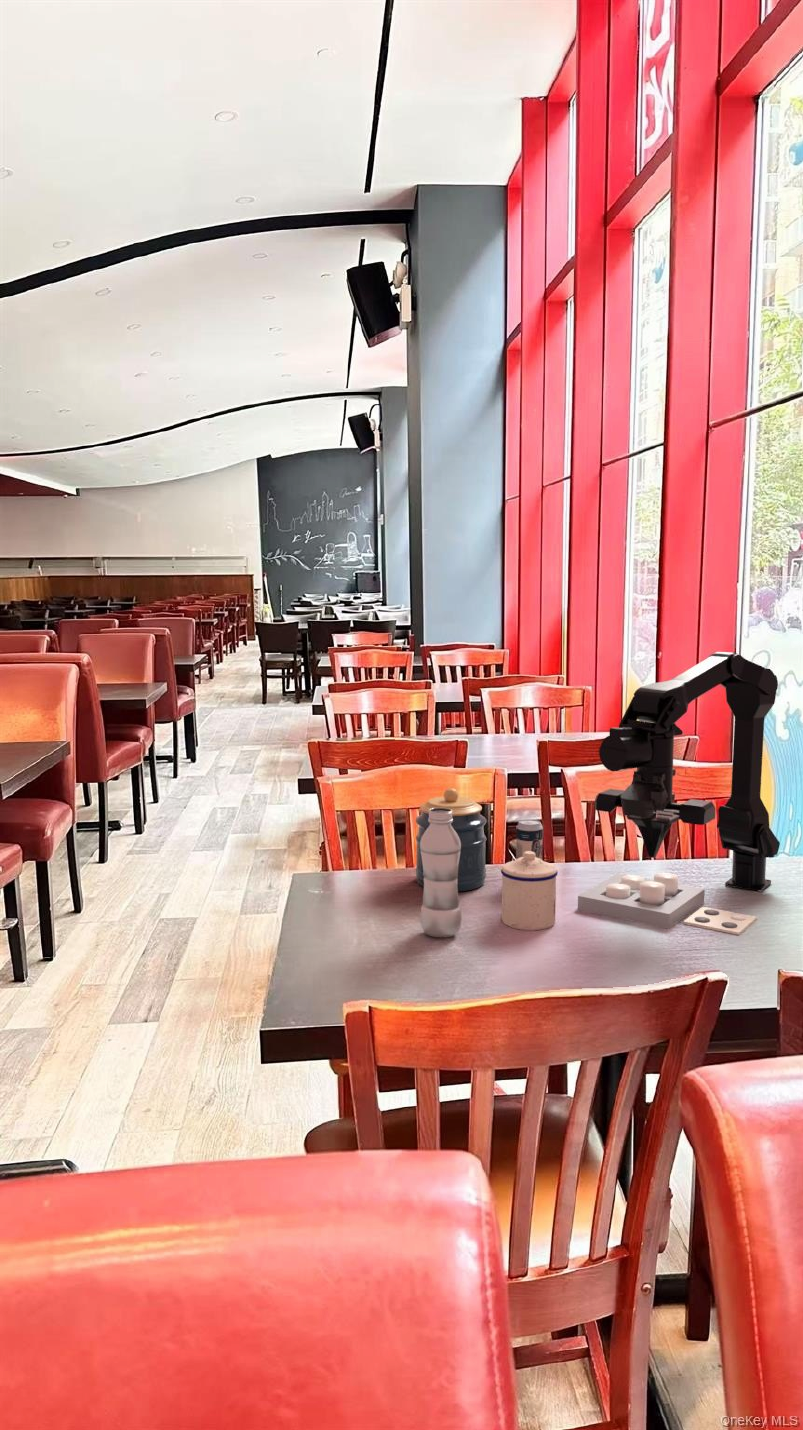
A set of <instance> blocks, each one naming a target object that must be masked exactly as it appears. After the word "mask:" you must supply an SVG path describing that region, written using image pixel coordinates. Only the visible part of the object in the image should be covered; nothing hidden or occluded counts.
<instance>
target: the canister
mask: <svg viewBox="0 0 803 1430" xmlns="http://www.w3.org/2000/svg"><path fill="white" fill-rule="evenodd" d="M432 808H449V809H451V810H452V818H453V822H452V823H451V826H452V827H453V829H454V830H455V831H456V833H457V835H458V836H459V839H460V842H461V850H460V858H459V865H458V877H457V879H458V882H457V887H458V892H466V891H471V890H476V889H479V888H481V887H482V886H483V885H484V884H485V883H486V877H487V868H486V841H487V837H486V835H485V832H484V826H485V825H486V823H487V819H486V817H485V816H483V815H482V814H481V812H482V809H483V807H482V805H481V804H479V803H478V802H475V800H474V799H472V798H470V797H466V796H459V793H458V791H457V790H456V789H455V788H451V787H450V788H447V789H445V791H444V794H443V796H437V797H435V796H434V797H432V798H429V799H428V800H427V801H426V802H424V803H423V804H421V805H420V807H419V809H420V811H422V812H421V814H419V815H418V816H417V817H416V818H415V823H416V825H417V826H418V832H417V835H416V836H415V840H416V868H415V877H416V880H417V884H418V885H419V886H421V887H422V888H424V875H423V863H422V856H421V849H420V841H421V837H422V836H423V834H424V833H425V831H426V830H427V828H428V827H429V826H430V823H429V822H428V818H429V810H430V809H432Z"/></svg>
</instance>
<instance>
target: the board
mask: <svg viewBox="0 0 803 1430" xmlns="http://www.w3.org/2000/svg"><path fill="white" fill-rule="evenodd" d="M626 875H627V874H624V873H623V874H622V873H616V874H614V875H612V876H610V877H609V878H607V879H605V880H603V881H602V882H600V883H598V884H597V885H595V886H593V887H591V888H589V889H588V890H587V889H586V891H584V892H582V893H580V894H578V895H577V910H579V911H583V912H588V913H592V914H593V913H594V914H598V915H603V916H606V917H607V916H608V917H612V918H616V919H621V920H626V921H631V922H636V923H639V924H640V923H641V924H646V925H651V926H656V927H660V928H664V929H671V928H672V927H673V926H674V925H676V924H677V923H679V922H680V921H681V920H683V919H684V918H686V917H687V916H688V915H689V914H690V913H691V914H692V912H694V911H695V910H696V909H697V908H699V907H701V906H702V904H704V903H705V890H706V889H705V888H702V887H701V888H700V887H696V886H691V885H685V884H679V883H678V894H677V895H676V896H674V897H671V896H666V895H664V904H662V905H661V906H655V905H650V904H645V903H640V902H639V898H640V891H639V890H634V889H630V897H629V898H627V899H620V898H615V897H610V896H606V886H607V885H608V884H615V883H617V884H621V877H622V876H626ZM643 878H644V879H645V880H644V882H646V881H653V882H654V879H651V878H645V877H643Z"/></svg>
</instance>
